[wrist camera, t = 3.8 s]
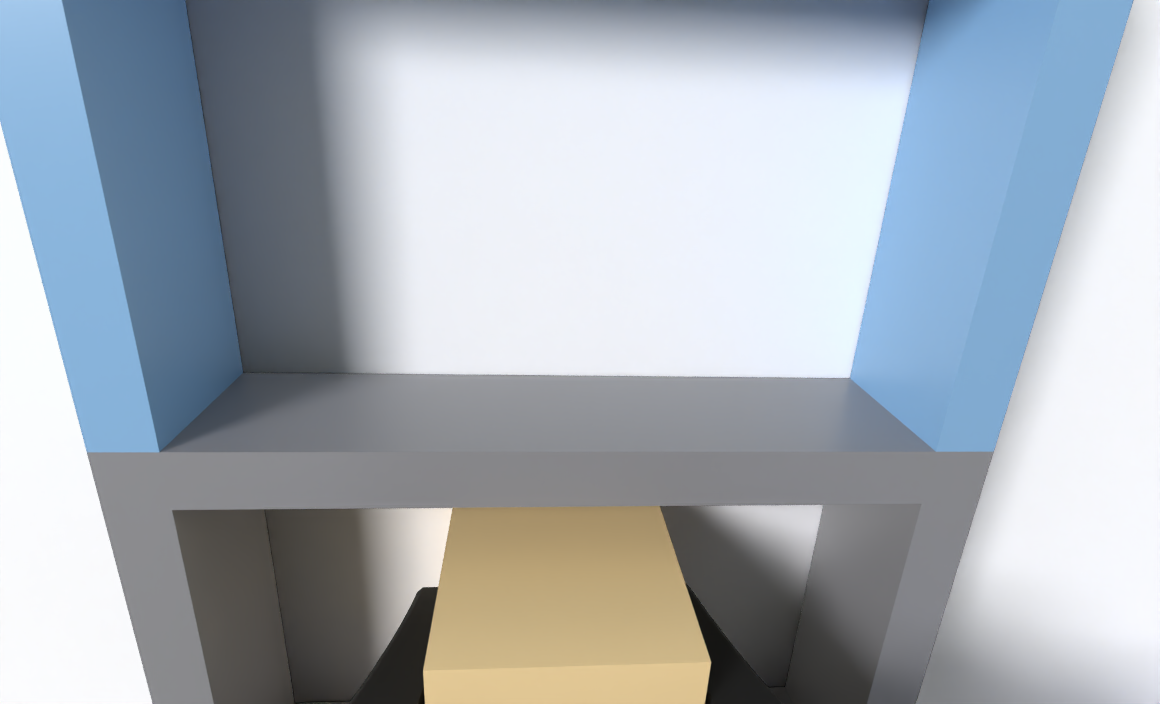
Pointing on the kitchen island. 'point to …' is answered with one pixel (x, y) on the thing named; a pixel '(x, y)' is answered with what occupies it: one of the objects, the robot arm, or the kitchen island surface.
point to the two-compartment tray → (537, 402)
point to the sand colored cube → (563, 610)
